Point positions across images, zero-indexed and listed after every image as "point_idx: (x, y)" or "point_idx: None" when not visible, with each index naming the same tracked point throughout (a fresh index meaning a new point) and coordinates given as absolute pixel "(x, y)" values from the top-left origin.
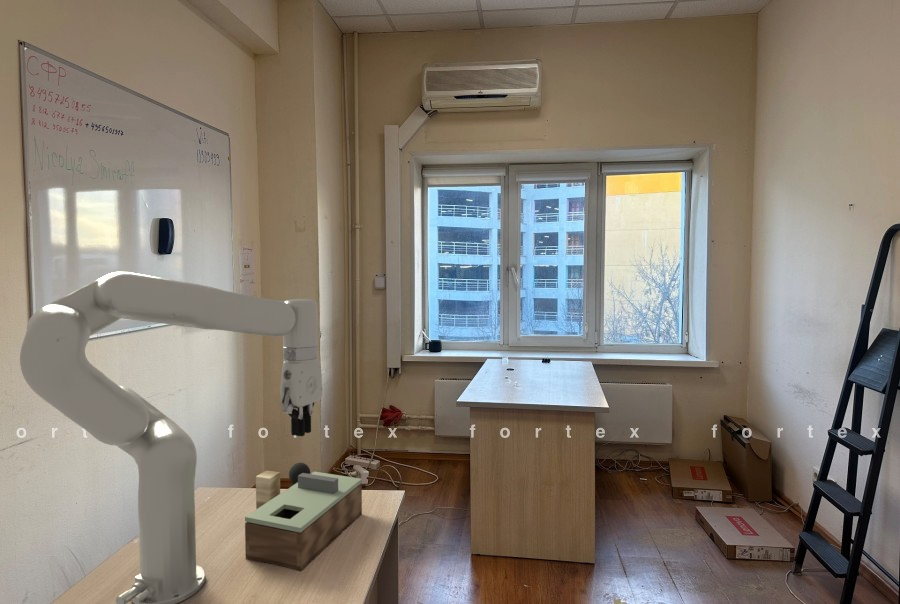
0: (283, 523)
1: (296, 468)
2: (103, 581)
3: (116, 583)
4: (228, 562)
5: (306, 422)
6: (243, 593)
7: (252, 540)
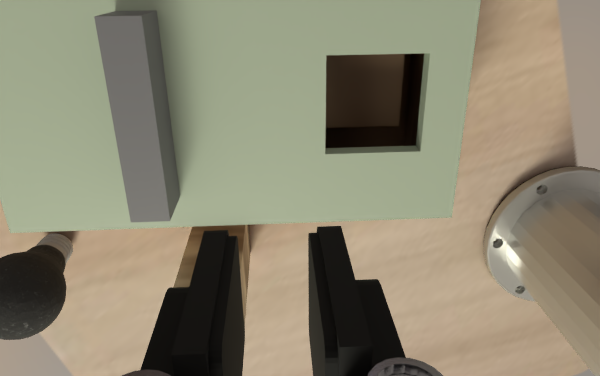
0: (467, 55)
1: (30, 311)
2: (551, 358)
3: (554, 334)
4: None
5: (229, 325)
6: (551, 57)
7: None
